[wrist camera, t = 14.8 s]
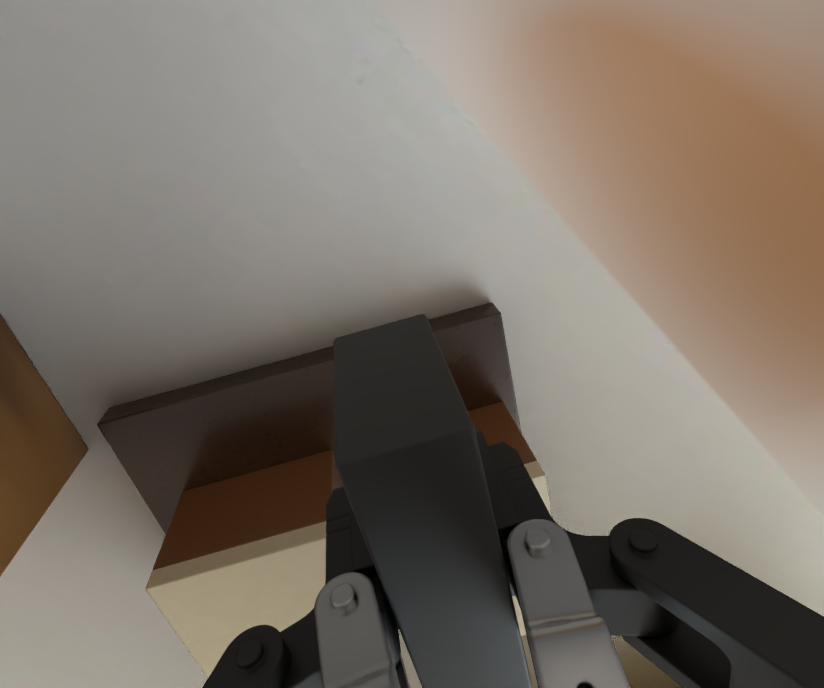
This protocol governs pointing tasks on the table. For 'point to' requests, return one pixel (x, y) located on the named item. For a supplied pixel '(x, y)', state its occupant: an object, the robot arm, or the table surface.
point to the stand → (29, 446)
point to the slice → (503, 428)
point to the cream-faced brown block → (245, 554)
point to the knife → (425, 506)
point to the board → (278, 413)
